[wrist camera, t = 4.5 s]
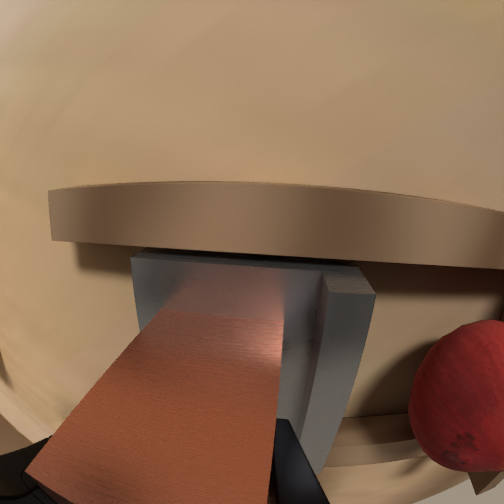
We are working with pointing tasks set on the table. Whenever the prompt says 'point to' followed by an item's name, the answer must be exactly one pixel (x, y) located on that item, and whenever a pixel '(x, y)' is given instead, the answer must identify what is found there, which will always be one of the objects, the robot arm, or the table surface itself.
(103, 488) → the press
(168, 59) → the table surface
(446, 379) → the onion
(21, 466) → the robot arm
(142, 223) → the bench
